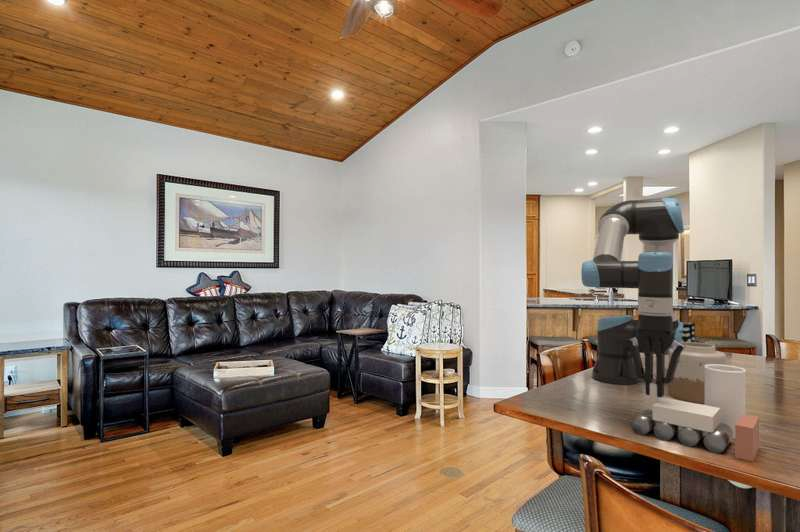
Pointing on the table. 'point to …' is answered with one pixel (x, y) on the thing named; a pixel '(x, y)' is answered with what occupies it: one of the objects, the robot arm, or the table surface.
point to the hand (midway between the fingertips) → (654, 409)
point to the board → (687, 414)
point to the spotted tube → (688, 332)
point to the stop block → (747, 437)
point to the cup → (726, 392)
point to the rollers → (683, 432)
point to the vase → (693, 371)
